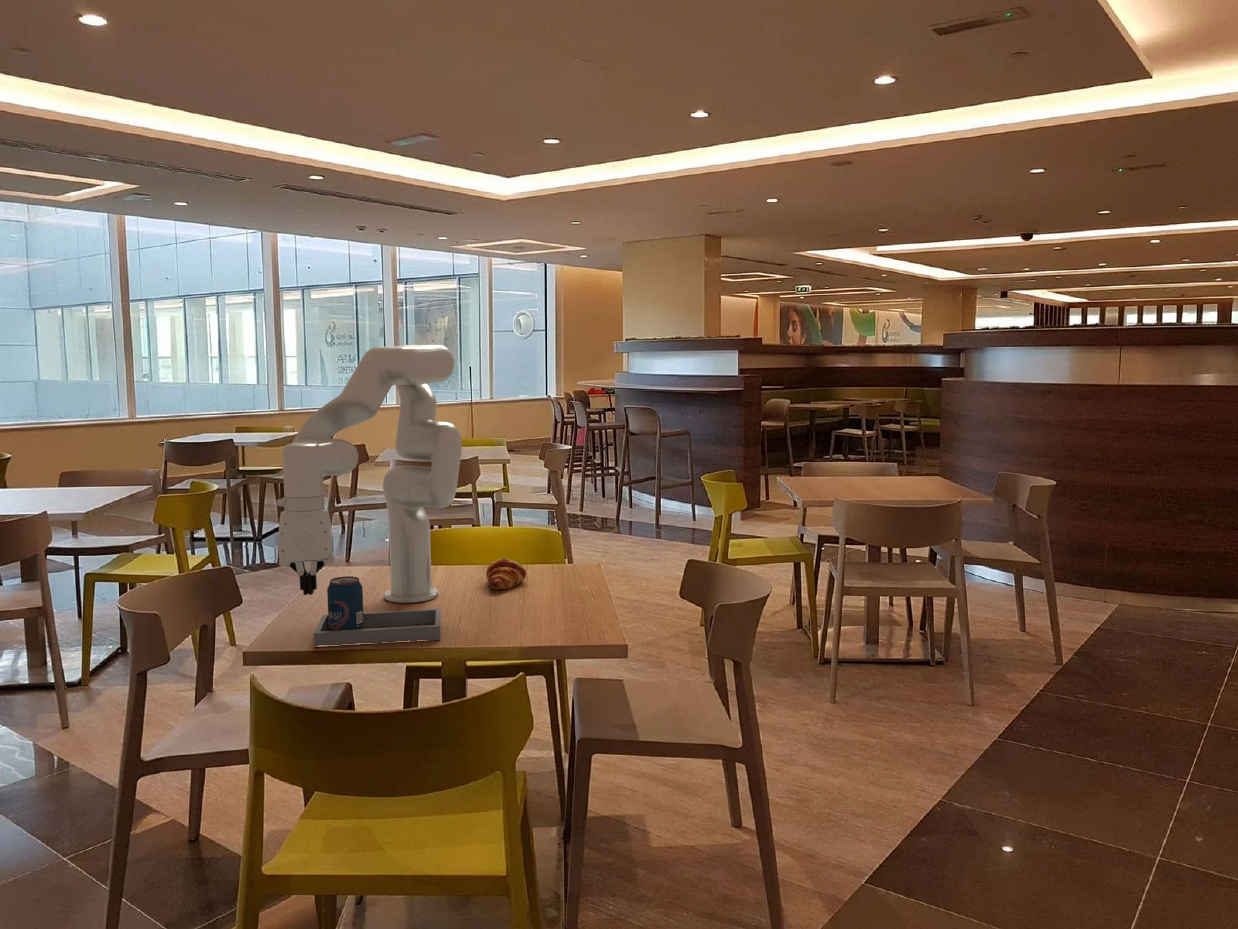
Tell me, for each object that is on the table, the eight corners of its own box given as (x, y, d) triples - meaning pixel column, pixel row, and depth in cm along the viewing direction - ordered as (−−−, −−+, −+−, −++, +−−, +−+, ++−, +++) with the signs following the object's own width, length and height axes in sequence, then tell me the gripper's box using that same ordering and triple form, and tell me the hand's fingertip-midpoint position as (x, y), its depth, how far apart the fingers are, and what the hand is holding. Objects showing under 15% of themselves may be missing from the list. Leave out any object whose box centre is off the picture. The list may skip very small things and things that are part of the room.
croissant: (505, 585, 239) (491, 559, 238) (537, 569, 237) (523, 542, 237) (485, 605, 218) (470, 576, 217) (521, 587, 216) (505, 558, 216)
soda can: (321, 639, 182) (319, 582, 180) (343, 630, 188) (341, 574, 187) (350, 643, 179) (348, 585, 178) (371, 633, 186) (369, 577, 184)
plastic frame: (323, 628, 189) (322, 614, 189) (440, 622, 194) (440, 608, 193) (314, 648, 176) (313, 633, 176) (440, 640, 181) (440, 626, 181)
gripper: (261, 508, 174) (266, 600, 176) (341, 506, 177) (344, 596, 179) (269, 502, 181) (273, 590, 184) (345, 500, 184) (348, 586, 186)
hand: (308, 593), depth 181 cm, fingers closed
